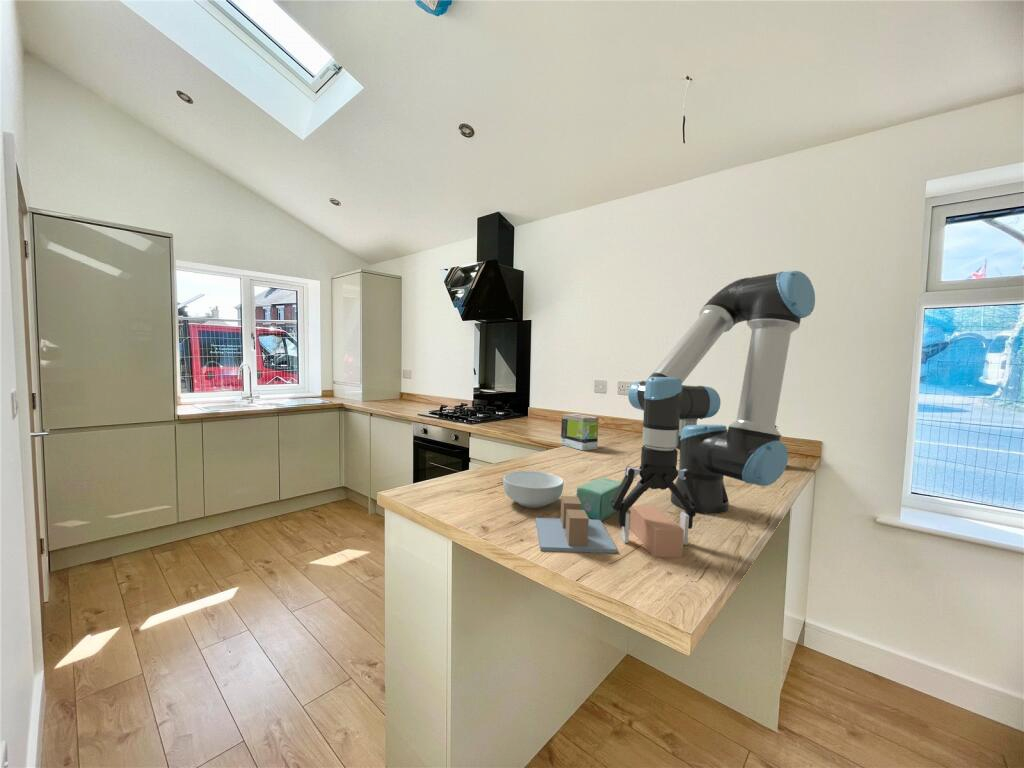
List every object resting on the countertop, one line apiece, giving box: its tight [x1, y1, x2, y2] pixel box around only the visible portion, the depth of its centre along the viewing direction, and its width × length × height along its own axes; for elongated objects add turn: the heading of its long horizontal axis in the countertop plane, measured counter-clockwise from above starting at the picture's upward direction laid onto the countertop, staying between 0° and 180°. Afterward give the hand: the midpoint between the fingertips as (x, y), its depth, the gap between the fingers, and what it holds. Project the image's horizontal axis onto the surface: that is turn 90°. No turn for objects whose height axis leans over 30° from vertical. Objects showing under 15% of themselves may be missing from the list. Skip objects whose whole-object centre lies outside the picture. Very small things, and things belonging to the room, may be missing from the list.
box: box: [575, 476, 625, 522], centre depth 112 cm, size 7×14×8 cm, turn 140°
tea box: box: [560, 413, 600, 451], centre depth 194 cm, size 15×10×15 cm
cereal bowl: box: [502, 470, 564, 509], centre depth 116 cm, size 17×17×7 cm
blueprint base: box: [535, 495, 618, 554], centre depth 95 cm, size 16×16×7 cm
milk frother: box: [675, 419, 698, 450], centre depth 201 cm, size 14×16×15 cm
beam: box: [629, 505, 684, 558], centre depth 93 cm, size 6×14×6 cm, turn 5°
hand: (654, 541), depth 94 cm, fingers open, 12 cm apart
